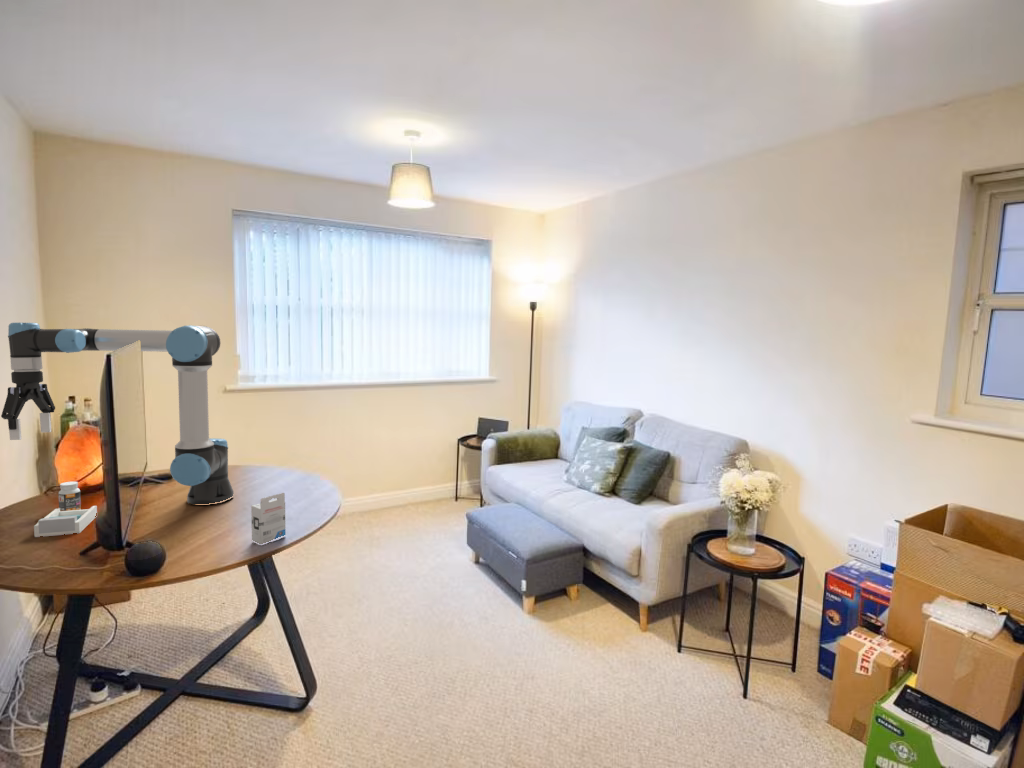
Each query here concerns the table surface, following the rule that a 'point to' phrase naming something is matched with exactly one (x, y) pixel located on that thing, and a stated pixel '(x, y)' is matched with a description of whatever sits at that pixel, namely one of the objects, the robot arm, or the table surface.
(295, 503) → the table surface
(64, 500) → the pill bottle
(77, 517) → the pusher plate
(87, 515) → the pusher lane
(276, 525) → the ink box
